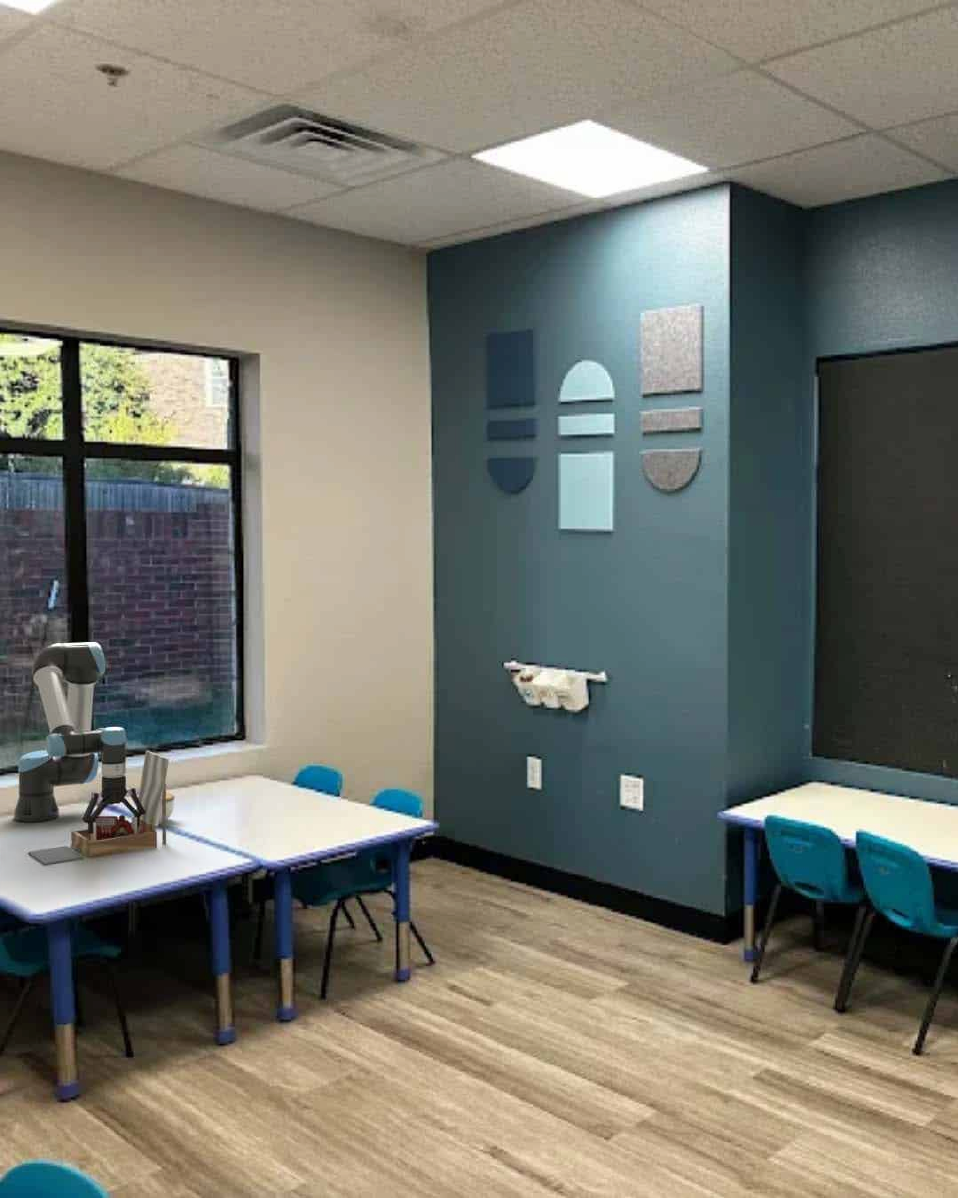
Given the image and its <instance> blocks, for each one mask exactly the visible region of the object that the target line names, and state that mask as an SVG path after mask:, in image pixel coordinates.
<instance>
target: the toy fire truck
mask: <svg viewBox="0 0 958 1198" xmlns="http://www.w3.org/2000/svg"><path fill="white" fill-rule="evenodd" d="M130 822H131V821H129V819H126V816H125V815H124V814H121V815H119V817H118V816H117V815H99V816H98V818H97V819H96V820H95V822H94V823H96V841H98V840H104V839H110V838H117V837H123V836H129V835H134V830H133V828H132V826H131V824H130ZM118 825H119V826H118ZM117 826H118V828H117ZM116 828H117V831H118V833H117V834H116V832H117V831H116ZM126 830H127V833H125V832H126ZM115 834H116V837H115Z"/></svg>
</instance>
